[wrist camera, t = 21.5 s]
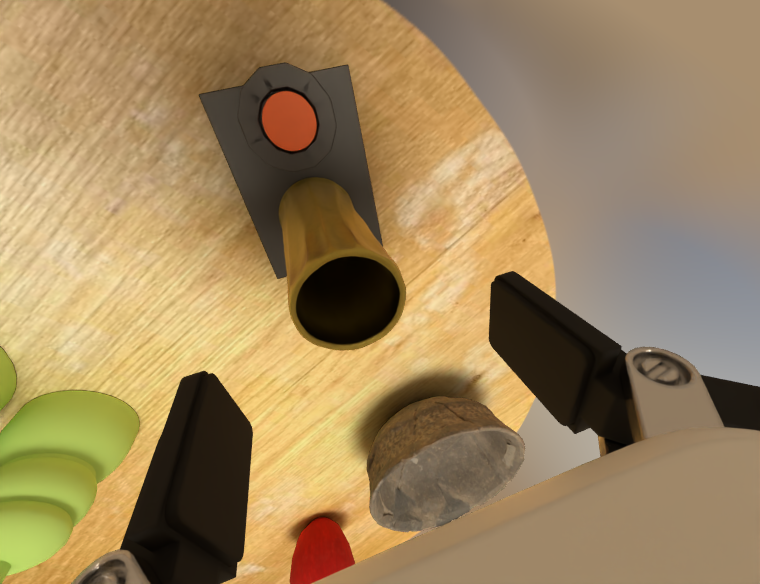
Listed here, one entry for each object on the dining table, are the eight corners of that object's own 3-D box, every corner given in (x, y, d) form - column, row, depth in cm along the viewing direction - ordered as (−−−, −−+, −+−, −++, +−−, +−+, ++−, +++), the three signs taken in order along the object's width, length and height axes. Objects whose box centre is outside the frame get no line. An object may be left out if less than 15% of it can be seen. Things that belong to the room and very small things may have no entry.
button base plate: (197, 85, 20) (186, 81, 17) (343, 57, 21) (351, 49, 19) (277, 273, 28) (277, 289, 25) (380, 243, 29) (389, 255, 27)
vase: (348, 252, 27) (400, 356, 16) (277, 247, 25) (274, 362, 14) (358, 183, 25) (431, 245, 13) (279, 170, 23) (279, 231, 11)
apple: (276, 533, 50) (275, 626, 41) (320, 501, 49) (329, 589, 40) (317, 542, 55) (324, 626, 46) (357, 514, 54) (373, 594, 45)
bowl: (389, 355, 37) (421, 425, 29) (507, 374, 46) (557, 432, 37) (332, 463, 44) (344, 543, 36) (442, 461, 53) (472, 525, 45)
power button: (255, 98, 19) (253, 97, 17) (305, 88, 19) (307, 85, 18) (274, 153, 21) (273, 156, 19) (319, 142, 21) (322, 144, 20)
